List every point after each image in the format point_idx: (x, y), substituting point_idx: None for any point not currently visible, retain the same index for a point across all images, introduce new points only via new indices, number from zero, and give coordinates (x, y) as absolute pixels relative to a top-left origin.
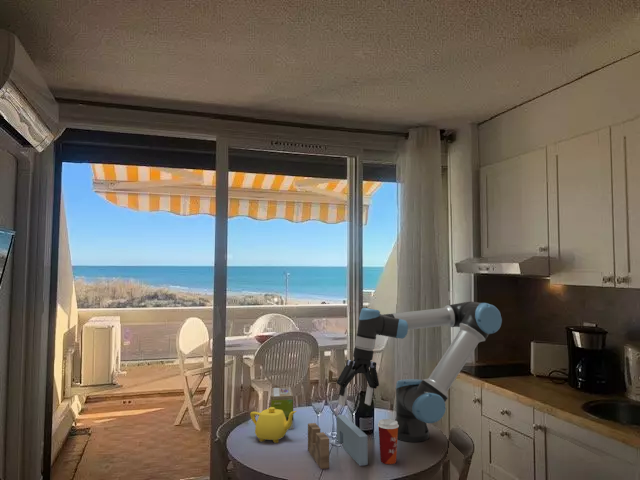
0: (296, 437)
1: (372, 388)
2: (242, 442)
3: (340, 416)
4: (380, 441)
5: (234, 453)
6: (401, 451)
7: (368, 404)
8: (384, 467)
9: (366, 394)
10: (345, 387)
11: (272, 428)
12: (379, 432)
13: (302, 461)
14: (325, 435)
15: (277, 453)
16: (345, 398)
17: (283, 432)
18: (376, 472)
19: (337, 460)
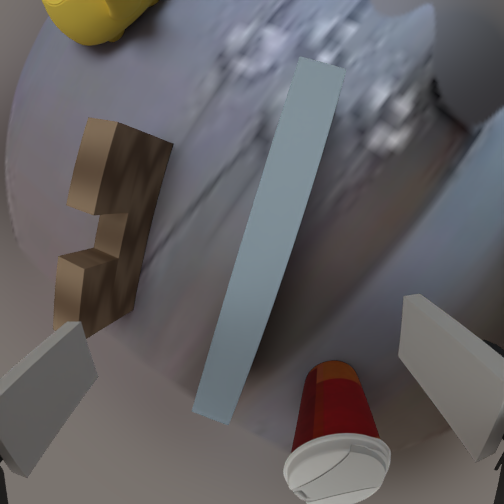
0: (187, 16)
1: (482, 457)
2: None
3: (307, 83)
4: (298, 420)
5: (16, 88)
6: None
7: (400, 348)
8: (284, 406)
9: (448, 342)
10: (5, 461)
11: (66, 32)
12: (294, 440)
13: (93, 218)
14: (76, 307)
15: (70, 124)
16: (68, 409)
17: (111, 29)
18: (238, 413)
19: (184, 277)
